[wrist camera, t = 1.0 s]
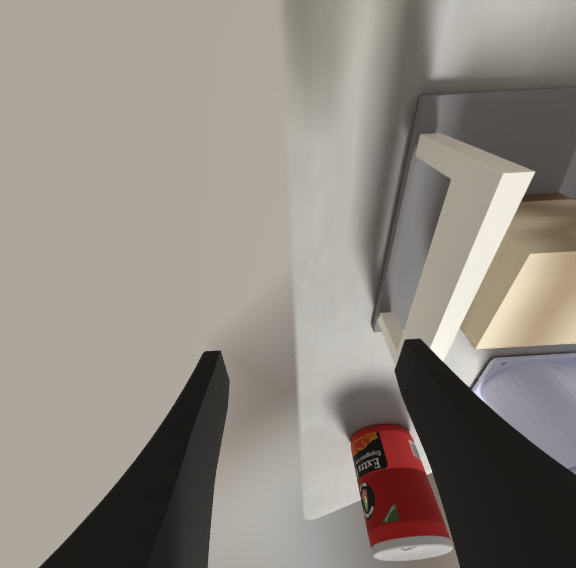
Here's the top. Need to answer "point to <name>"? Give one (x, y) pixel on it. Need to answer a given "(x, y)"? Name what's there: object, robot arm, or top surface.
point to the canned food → (397, 496)
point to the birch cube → (529, 280)
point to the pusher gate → (458, 239)
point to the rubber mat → (486, 136)
